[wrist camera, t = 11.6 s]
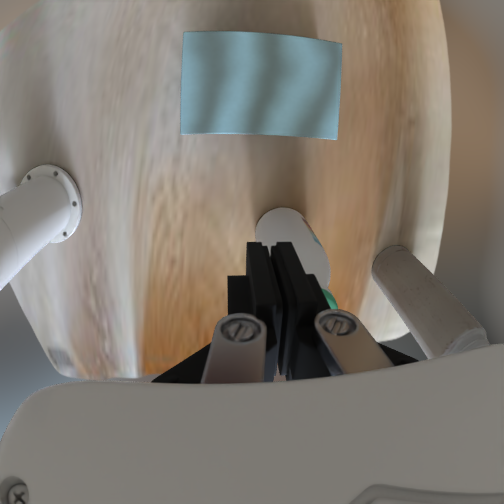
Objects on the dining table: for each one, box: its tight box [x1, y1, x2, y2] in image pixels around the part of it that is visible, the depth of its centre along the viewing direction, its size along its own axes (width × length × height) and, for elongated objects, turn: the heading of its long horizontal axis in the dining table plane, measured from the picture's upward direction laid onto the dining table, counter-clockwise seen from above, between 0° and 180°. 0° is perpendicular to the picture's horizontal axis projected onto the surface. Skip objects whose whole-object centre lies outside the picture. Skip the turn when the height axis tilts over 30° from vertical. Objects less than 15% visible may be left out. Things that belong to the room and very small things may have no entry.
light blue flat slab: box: [180, 31, 342, 140], centre depth 28 cm, size 16×11×1 cm
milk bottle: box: [255, 208, 338, 309], centre depth 35 cm, size 8×8×20 cm
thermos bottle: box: [372, 246, 490, 359], centre depth 36 cm, size 8×8×28 cm
